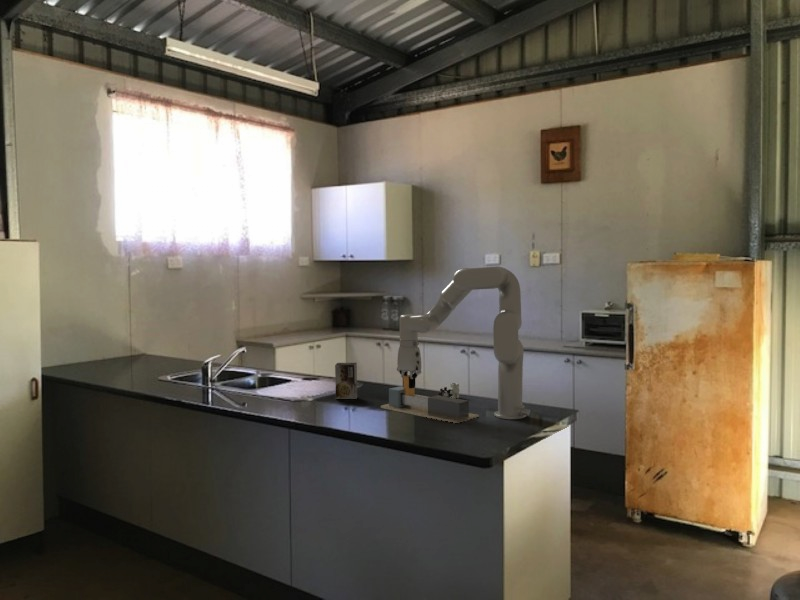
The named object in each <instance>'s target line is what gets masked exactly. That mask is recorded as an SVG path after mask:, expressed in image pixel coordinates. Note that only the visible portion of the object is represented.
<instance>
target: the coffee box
mask: <svg viewBox="0 0 800 600" xmlns="http://www.w3.org/2000/svg"><path fill="white" fill-rule="evenodd" d="M357 367H358V366H357V362H337V363H336V364H335V365H334V374H335V375H334V376H335V377H334V378H335V380H334V381H335V400H336V399H356V400H357V398H358V384H357V383H358V377H357V376H358V374H357V371H358V370H357Z"/></svg>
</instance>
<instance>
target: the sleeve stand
mask: <svg viewBox="0 0 800 600" xmlns="http://www.w3.org/2000/svg"><path fill="white" fill-rule="evenodd" d="M427 397H428V409H425V408H420V407H415V406H410V405H405V406H400V407H396V406H391V405H389V403H387V404H382V405H380V408H381V409H383V410H384V409H385V410H388V411H394V412H398V413H403V414H407V415H411V416H418V417H423V418H426V417H427V419H431V418H432V420H436V419H437V420H436V421H441V420H442V422H445V421H448V422H447V423H450V422H453V423H452V424H455V423H458V424H461V423H460V422H462V423H464V422H463V421H465V422H468V421H471V420H470V419H472V420H474V419H473V418H475V419H478V418H477V417H479V418H480V414H477V413H471V412H469V411H470V410H469V409H470V408H469V407H470V405H469V404H470V403H469V400H466V399H461V398H457V399H456V398H451V397H445V396H444V395H443V396H441V395H439V394H438V395H437V394H436V395H434V396H433V395H432V396H427ZM467 420H468V421H467Z"/></svg>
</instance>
